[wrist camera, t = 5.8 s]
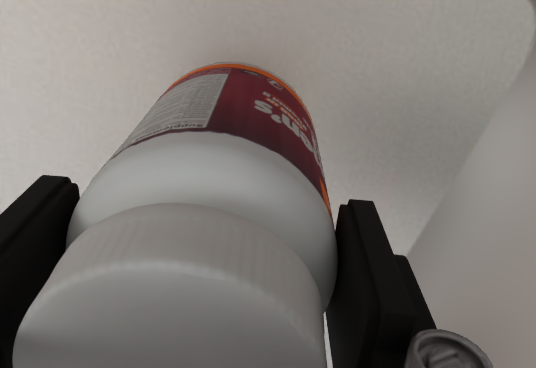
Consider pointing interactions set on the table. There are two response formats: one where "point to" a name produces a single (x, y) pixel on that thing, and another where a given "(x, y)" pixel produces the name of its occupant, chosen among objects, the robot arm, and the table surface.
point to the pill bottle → (197, 239)
